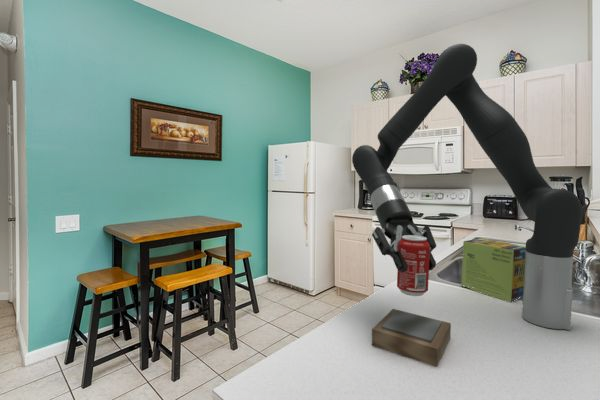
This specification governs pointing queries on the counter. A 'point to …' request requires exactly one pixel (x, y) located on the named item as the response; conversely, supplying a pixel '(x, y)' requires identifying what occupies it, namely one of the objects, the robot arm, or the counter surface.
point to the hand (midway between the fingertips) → (418, 269)
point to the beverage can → (414, 265)
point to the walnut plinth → (412, 336)
